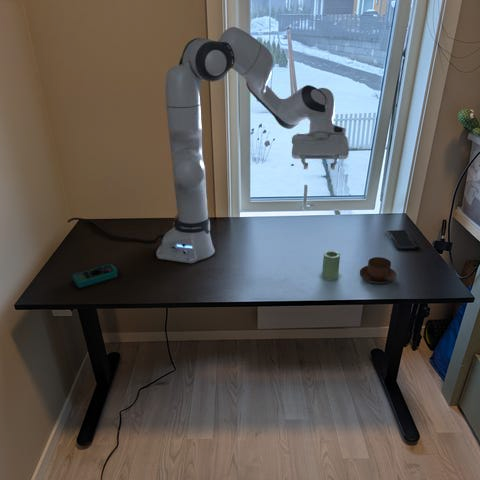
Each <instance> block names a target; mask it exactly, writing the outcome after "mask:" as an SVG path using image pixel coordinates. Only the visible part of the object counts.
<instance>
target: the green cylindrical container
mask: <svg viewBox="0 0 480 480" xmlns="http://www.w3.org/2000/svg"><path fill="white" fill-rule="evenodd" d="M340 261H341V253H340V252H339V251H337V250H326V251H325V252H324V253H323V259H322V273H321V277H322V278H323V279H325V280H328V281H333V280H337V279H338V278H339V270H340Z"/></svg>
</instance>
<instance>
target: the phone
mask: <svg viewBox="0 0 480 480" xmlns="http://www.w3.org/2000/svg"><path fill="white" fill-rule="evenodd" d="M386 234H387V236H388V239H389V240H390V242H391V243H392V244H393V246H394V248H395V249H396V250H399V251H401V250H403V251H404V250H416V249H417V248H418V244H417V243H416V242H415V241H416V240H414V239H413V237H412V236H411V235H410V233H409V232H408V231H407V230H405V229H397V230H396V229H395V230H387V231H386Z"/></svg>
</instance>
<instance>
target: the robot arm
mask: <svg viewBox="0 0 480 480" xmlns="http://www.w3.org/2000/svg"><path fill="white" fill-rule="evenodd" d="M231 69H232V70H233V71H235V72H237V73H238V74H239V75H240V76H241V77H242V78H243V79H244V80H245V81H246V87H247V90H248V91H249V92H250V94H251V95H252V96H253V97H254V98H255V99H256V100H257V101H258V102H259V103H260V104H261V105H262V106H263V107H264V108H265V109H266V110H267V111H268V112H269V113H270V114H271V115H272V116H273V118H274V120H275V121H276V122H277V123H278V125H280V126H281V127H282V128H284V129H287V130H290V129H291V130H292V129H294V128H295V127H296V126H298V125H299V124H300V123H302V122H303V121H305V120H306V119H307V120H309V125H308V132H305V133H299V132H298V133H296V134H293V135H292V137H291V144H292V148H291V157H292V159H294V160H300V162H301V163H302V165H303V170H309V163H308V162H306V160H333V162H330V166H329V167H330V168H329V170H330V171H334V170H335V168H336V165H337V163H338V162H339V160H346V159H347V158H348V157H349V155H350V154H349V153H350V149H349V148H350V147H349V139H348V137H347V129H346V128H345V127H343V126H340V125H337V124H334V123H335V122H334V118H335V111H336V110H335V98H334V93H333V92H332V91H331V90H330V89H329V88H327V87H319V88H317V87H315V86H313V85H309V84H306V85H304V86H302V87H300V88H299V89H298V90H297V91H295V92H294V93H292V94H291V95H289V96H288V97H285V98H280V97H279V96H278V95H277V94H276V92H274V91H273V89H272V88H270V86H269V85H268V82H269V80H270V78H271V76H272V73H273V69H274V58H273V55H272V53H271V52H270V50H269V49H268V48H267V47H266V46H265V45H264V44H262V43H261V42H260V41H259V40H258V39H257V38H255V37H253V35H251V34H249V33H248V32H246V31H244V30H243V29H240V28H238V27H236V26H231V27H228V28H227V29H226V30H224V31H223V32H222V34H221V35H220V37H219V38H218V40H217V41H216V40H212V39H210V38H204V37H203V38H201V37H197V38H193V39H191V40H190V41H188V42H187V43H186V44H185V46H184V49H183V51H182V55H181V57H180V60H179V62H178V65H175V66H172V67H171V68H169V69H168V70H167V72H166V75H165V76H166V77H165V107H166V117H167V127H168V128H167V129H168V136H169V146H170V158H171V170H172V178H173V187H174V196H175V203H176V211H177V214H176V215H175V216H174V219H173V222H172V226H173V227H172V228H171V229H170V230H168V231H167V230H166V231H164V232H162V233H160V234H159V235H157V236H156V237H155V238H154V239H145V238H140V237H135V236H134V237H132V236H122V235H116V234H113V233H111V232H109V231H107V230H106V229H104V228H103V227H102V226H101V225H100V224H98V223H96V222H95V221H94V220H92V219H87V218H82V217H71V218H70V219H68V220H67V223H70V222H72V221H83V222H88V223H91V224H93V225H94V226H96V227H97V228H98V229H100V230H101V231H102V232H103V233H105V234H107V235H108V236H110V237H113V238H115V239H121V240H131V241H133V240H134V241H140V242H145V243H154V242H157V241H158V240H159V239H160V238H161V244H160V245H159V246H158V248H157V250H156V252H155V253H156V255H155V256H156V258H157V259H159V260H166V261H173V262H180V263H187V264H194V263H197V262H199V261H201V260H204V259H207V258H210V257H211V256H213V255H214V254H215V251H216V249H215V247H214V244H213V240H212V235H211V221H210V215H209V212H208V211H209V210H208V199H207V179H206V178H207V177H206V175H207V174H206V166H205V162H204V156H203V127H202V126H203V125H202V108H201V97H200V92H201V87H202V84H203V82H204V81H207V82H218V81H220V80H222V79H223V78H224V77H225V76H226V75H227V74H228V73H229V71H230V70H231Z"/></svg>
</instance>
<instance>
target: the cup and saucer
mask: <svg viewBox="0 0 480 480" xmlns="http://www.w3.org/2000/svg"><path fill="white" fill-rule="evenodd" d="M391 266H392V262H391V260H390V259H388V258H386V257H380V256H375V257H371V258H369V260H368V263H367V265H365V266H363V267H361V269H360V270H359V275H360V277H361V278H362V279H363V280H364V281H366V282H367V283H371V284H376V285H387V284H389V283H391V282H393V281H395V280H396V278H397V272H396V271H395V270H394V269H392V268H391Z"/></svg>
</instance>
